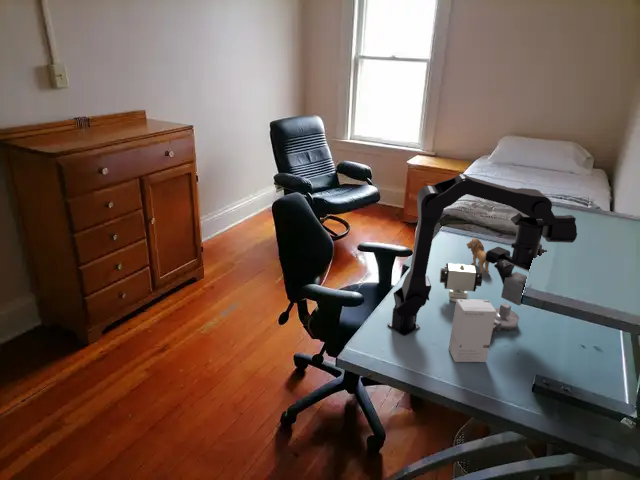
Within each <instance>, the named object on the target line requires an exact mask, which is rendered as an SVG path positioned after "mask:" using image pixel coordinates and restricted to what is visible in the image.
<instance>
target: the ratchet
mask: <svg viewBox="0 0 640 480" xmlns="http://www.w3.org/2000/svg"><path fill="white" fill-rule="evenodd" d="M494 309H495V310H496V316H495V321H494V326H493V330H492V336H491V338H492V337H493V336H494V334H496V333H498V332H500V331H501V332H508V333H509V332H513V331H515V330H517V329H518V323H519V320H520V317H519V315H518V313H516V312H515V311H513V310H511V309H512V304H509V303H507V302H503V303H502V304H500V306H499V307H494Z"/></svg>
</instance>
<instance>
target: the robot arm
mask: <svg viewBox="0 0 640 480" xmlns="http://www.w3.org/2000/svg"><path fill="white" fill-rule="evenodd" d="M467 195H468V196H472V197H475V198H478V199H482V200H487V201H489V202H494V203H497V204H500V205H501V204H502V205H504V206H507V207H511V208H513V209H515V210H516V211H518V212H517V214H516V215H514V216H512V217H511V218H510V221H511V222H512V223H513V225H515V226H517V230H516V235H515V240H514V242H512V243H511V246H510V247H511V248H512V249H513V250H512V253H511V252H510V250H508V249H506V248H503V247H501V246H496V247H494V248H491V249H488V250H487V251H486V252H485V253H486V254H485V261H488V262H489V264H490V263H491V264H492V265H493V264H494V265H493V267H494V268H495V269H496V270H497V272H498V275H499V276H500V279H501V282H502V286H503V285H504V280H505V277H506V276H508V275H511V274H513V270H514V269H515V267H516V268H518V269H521V270H523V271H526V272H528V273H530V272H529V269H530V266H531V263H532V260H533V258H536V257H537V255H539V256H541V255H542V253H544V252H547V250H548V249H545V248H543V246H542V244H541V241H542V238H543V239H545V241H546V242H548V243H564V244H565V243H568V244H569V243H574V242H575V241H576V239H577V236H578V233H577V231H578V230H577V224H576V219H577V218H576V217H575V216H573V215H571V214H567V215H555V214H554V213H553V212H554V211H552V210H553V209H552V208H553V203H552V201H551V199H550V198H549V197H547V196H546V195H545V194H544V193H542V192H541V191H540V190H538V189H534V188H523V187H521V188H513V187H508V186H506V185H505V186H504V185H500V184H497V183H493V182H490V181H487V180H483V179H479V178H475V177H472V176H469V175H468V174H465V173H461V174H458V175H455V176H454V177H451V178H449V179H446V180H442V181H439V182H437V183H434V184H433V185H425V186H423V187H422V188H420V189H419V191H418V192H417V195H416V198H417V200H416V205H417V206H416V207H417V219H418V222H417V228H416V235H415V238H414V240H415V241H414V244H413V252H412V257H411V263H410V267H409V271H408V272H407V274H406V275H405V277H404V280H403V283H402V285H401V287H399V288H398V289H397V290H395V291H394V292H393V298H394V307H393V308H392V317H391V321H389V322H388V323H387V326H388V327H389V328H390V329H393V330H394V331H396V332H397V333H399V334H400V335H402V336H408V335H409V334H410V333H412V332H415V331H416V330H418V329H419V328H420V327H421V326H420V324H418V323H417V317H418V312H419V311H420V309H421V308H422V307H424V306H425V305H426V303H427V301H430V292H431V290H432V284H431V281H430V278H429V276H428V275H427V269H428V265H429V260H430V254H431V249H432V245H433V239H434V234H435V228H436V226H437V224H438V223H439V221H441V218H442V216H443V212H444V209H446V208H448V207H450V206H452V205H454V204H455V203H456V202H457V201H458V200H460V199H461V198H462V197H465V196H467ZM521 213H522V214H521ZM523 215H524V216H523ZM542 248H543V249H542ZM544 249H545V250H544ZM511 254H512V255H511Z"/></svg>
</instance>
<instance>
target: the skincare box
mask: <svg viewBox="0 0 640 480" xmlns="http://www.w3.org/2000/svg"><path fill="white" fill-rule="evenodd" d="M494 308H495V307H494V306H493V305H492V303H491V302H490V300H489V299H477V298H476V299H475V298H474V299H473V298H470V299H468V298H467V299H456V302H455V306H454V311H453V312H454V313H453V319H452V326H451V330H450V331H451V332H450V337H449V338H450V339H449V344H448V349H449V352H450V354H451V357H452V359H453V362H454V363H473V362H474V363H475V362H476V363H486V362H487V361H488V355H489V351H490V345H491V339H492V337H493V335H492V330H493V326H494V321H495V316H496V310H495V309H494ZM491 336H492V337H491Z"/></svg>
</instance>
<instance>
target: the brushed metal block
mask: <svg viewBox="0 0 640 480" xmlns="http://www.w3.org/2000/svg"><path fill="white" fill-rule="evenodd" d="M527 276H528V275H525V274H523V273H521V272H519V271H515V272H512V274H511V275H508V276H506V277H505V280H504V285H503V284H502V291H501V296H500V297H501V299H503V300H506V301H508V302H511V303H512V304H514V305H517V306H521V305H522V304H521V296H522V293H523V290H524V287H525V283H526V279H527Z"/></svg>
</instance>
